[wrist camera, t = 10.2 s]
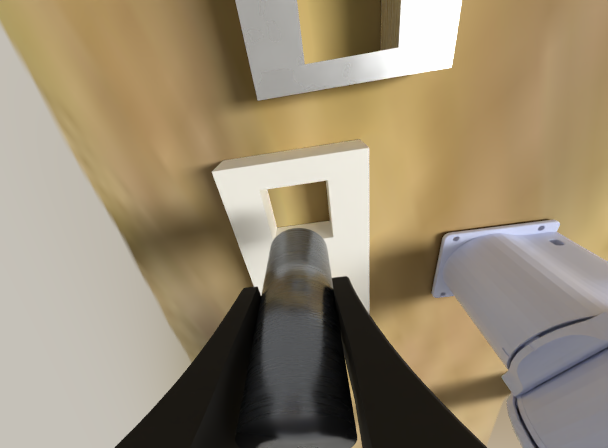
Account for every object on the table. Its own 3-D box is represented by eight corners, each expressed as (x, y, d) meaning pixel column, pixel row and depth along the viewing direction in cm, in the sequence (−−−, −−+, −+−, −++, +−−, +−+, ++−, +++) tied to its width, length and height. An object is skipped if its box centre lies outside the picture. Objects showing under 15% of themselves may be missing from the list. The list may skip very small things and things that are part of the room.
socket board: (360, 139, 16) (369, 147, 14) (363, 316, 26) (369, 336, 24) (222, 160, 17) (211, 171, 15) (277, 325, 27) (275, 345, 25)
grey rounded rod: (324, 224, 12) (355, 411, 5) (329, 269, 14) (358, 456, 7) (264, 232, 12) (217, 421, 5) (276, 276, 14) (253, 464, 7)
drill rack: (442, -112, 11) (488, -174, 8) (424, 70, 14) (451, 67, 12) (231, -65, 11) (211, -109, 9) (265, 97, 15) (257, 100, 12)
